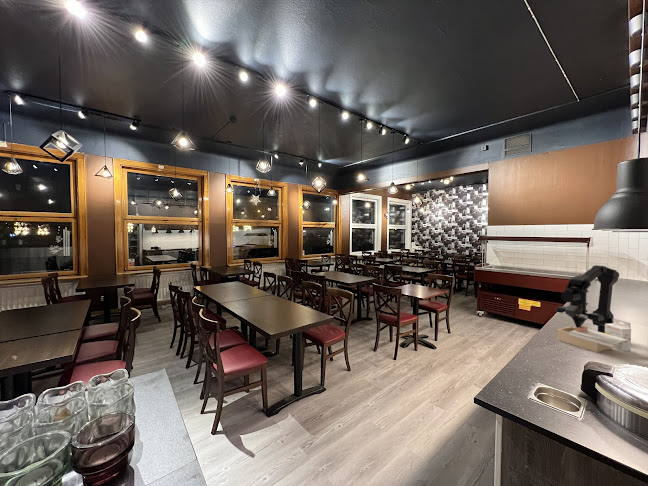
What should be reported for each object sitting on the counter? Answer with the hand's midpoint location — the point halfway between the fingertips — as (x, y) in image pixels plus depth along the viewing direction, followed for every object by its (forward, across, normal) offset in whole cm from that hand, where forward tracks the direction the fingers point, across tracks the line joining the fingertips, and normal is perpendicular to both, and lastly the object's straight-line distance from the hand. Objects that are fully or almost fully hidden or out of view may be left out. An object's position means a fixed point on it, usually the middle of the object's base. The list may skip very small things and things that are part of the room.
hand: (578, 328), depth 147 cm
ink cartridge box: (+8, +11, +10) cm, 17 cm away
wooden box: (+8, +2, 0) cm, 8 cm away
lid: (+3, +8, 0) cm, 9 cm away
